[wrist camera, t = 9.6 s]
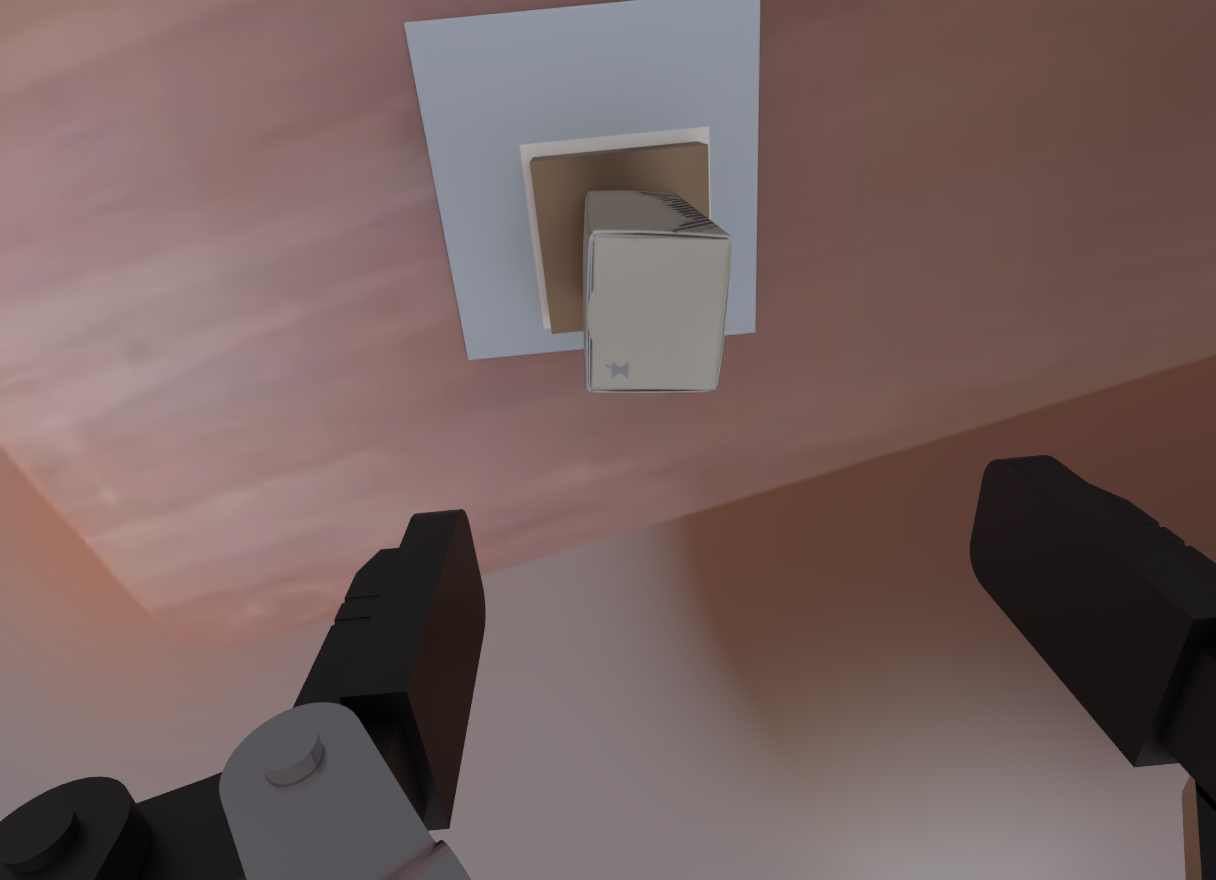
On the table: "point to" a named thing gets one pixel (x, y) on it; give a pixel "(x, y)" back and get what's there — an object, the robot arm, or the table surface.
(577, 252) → the base block
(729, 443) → the table surface
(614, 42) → the board
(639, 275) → the box
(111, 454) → the table surface
